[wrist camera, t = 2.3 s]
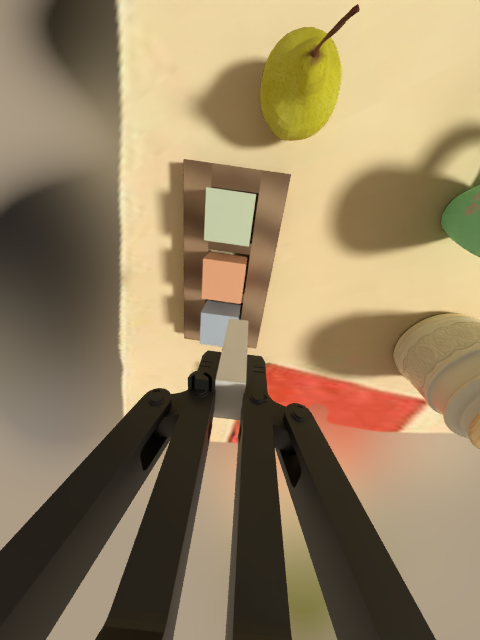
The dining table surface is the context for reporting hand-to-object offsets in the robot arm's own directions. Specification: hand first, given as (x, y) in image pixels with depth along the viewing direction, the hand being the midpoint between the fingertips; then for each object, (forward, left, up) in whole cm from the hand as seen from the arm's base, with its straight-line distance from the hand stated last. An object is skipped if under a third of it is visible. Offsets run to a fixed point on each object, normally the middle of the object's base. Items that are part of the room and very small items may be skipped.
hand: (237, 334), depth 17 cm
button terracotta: (0, -3, -14) cm, 15 cm away
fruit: (-18, +2, -17) cm, 25 cm away
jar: (+8, +32, -17) cm, 37 cm away
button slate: (+7, -3, -14) cm, 16 cm away
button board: (0, -3, -17) cm, 17 cm away
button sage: (-7, -3, -14) cm, 16 cm away
